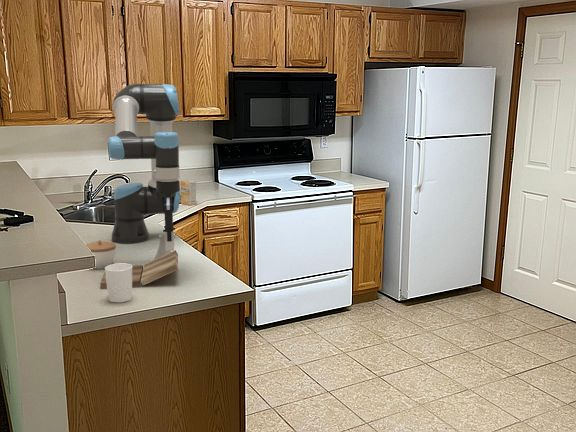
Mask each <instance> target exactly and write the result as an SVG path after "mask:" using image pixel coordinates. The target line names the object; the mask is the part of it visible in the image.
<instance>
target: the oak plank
mask: <svg viewBox="0 0 576 432" xmlns="http://www.w3.org/2000/svg"><path fill="white" fill-rule="evenodd" d="M154 259H155V258H154ZM154 259H153V260H150V261H148V262H146V263H144V264H143V272H142V276H141V285H142V286H146V285H147V284H150V283H152V282H154V281H157V280H158V279H160V278H163V277H164V276H166V275H169V274H171V273H173V272H175V271H178V270H179V264H178V263H179V253H178V251H177V250H176V249H174V251H171V252H170V253H168V254H166V255H163V256H161V257H159V258H157V259H155V260H154Z"/></svg>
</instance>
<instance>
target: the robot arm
mask: <svg viewBox="0 0 576 432" xmlns="http://www.w3.org/2000/svg"><path fill="white" fill-rule="evenodd" d="M112 111H113V113H114V115H115V116H114V117H115V120H114V121H115V123H114V126H115V128H114V136H110V137H108V155H109V158H110V159H112V160H122V161H123V160H150V168H151V179H149V181H148V182H147V186H144V184H143V183H142V182H131V183H124V184H121V185H118V186H116V187H115V188H114V190H113V200H114V225H113V229H112V232H111V241H112V242H113V243H119V244H137V243H138V244H139V243H142V242H145V241H148V240H149V238H150V236H149V235H150V233H149V230H148V228H147V226H146V225H147V224H146V222H145V215H159V214H161V215H162V214H164V229H162V233H164V234H165V246H166V251H171V252H172V251H174V250H175V242H174V241H175V238H174V237H175V236H174V235H175V234H174V231H175V230H176V227H174V219H173V217H174V216H173V215H174V214H175V213H177V212H178V209H179V207H180V203H181V192H180V181H181V180H179V179H180V177H181V176H180V160H179V159H180V155H179V154H180V150H179V147H180V146H179V145H180V140H179V134H178V133H177V131H176V132H175V131H173V124H174V122H175V121H176V119H177V116H178V115H180V104H179V98H178V92H177V89H176V86H175V85H173V84H167V83H133V84H130V85H129V84H128V85H127V86H125V87H124V88H122V89H121V90H119V91H118V92H117V93H116V95H115V96H114V97H113V101H112ZM138 115H145V119H146V121H147V122H149V126H150V127H149V128H150V129H149V130H150V131H149V132H150V136H149V135H147V136H146V135H145V136H143V135H142V136H140V135H138Z"/></svg>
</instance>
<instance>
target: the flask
mask: <svg viewBox="0 0 576 432" xmlns="http://www.w3.org/2000/svg"><path fill="white" fill-rule="evenodd" d="M158 238H159V245H158V249H157V251H156V254H155V257H154V259H153V260H155V259H157V258H159V257H161V256H163V255H166V254H168V253H170V252H172V251H166V246H165V233H164V234H159V235H158Z"/></svg>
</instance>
